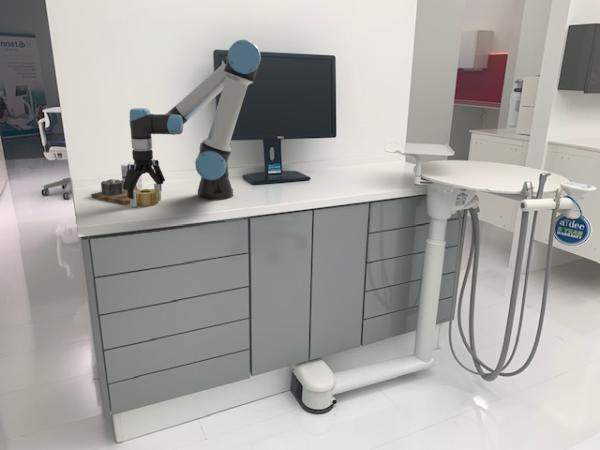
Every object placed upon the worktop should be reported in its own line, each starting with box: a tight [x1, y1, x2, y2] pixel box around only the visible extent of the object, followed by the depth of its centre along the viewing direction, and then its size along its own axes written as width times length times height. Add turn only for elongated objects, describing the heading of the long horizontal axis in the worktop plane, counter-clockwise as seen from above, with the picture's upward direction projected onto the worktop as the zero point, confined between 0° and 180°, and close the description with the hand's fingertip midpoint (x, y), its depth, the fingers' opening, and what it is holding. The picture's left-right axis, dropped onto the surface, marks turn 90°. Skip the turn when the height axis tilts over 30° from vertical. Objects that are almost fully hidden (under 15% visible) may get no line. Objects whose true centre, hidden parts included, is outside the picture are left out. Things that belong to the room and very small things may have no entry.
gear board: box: [90, 178, 130, 205], centre depth 199 cm, size 20×14×7 cm
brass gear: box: [136, 188, 159, 207], centre depth 191 cm, size 9×9×5 cm
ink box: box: [120, 161, 143, 190], centre depth 212 cm, size 9×5×12 cm, turn 168°
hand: (146, 203), depth 192 cm, fingers open, 12 cm apart
